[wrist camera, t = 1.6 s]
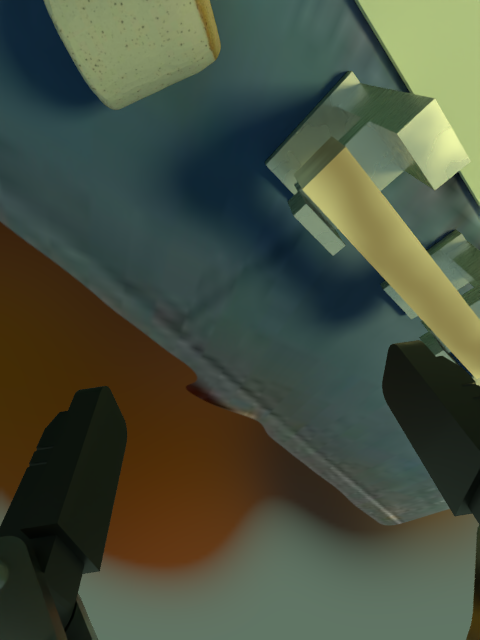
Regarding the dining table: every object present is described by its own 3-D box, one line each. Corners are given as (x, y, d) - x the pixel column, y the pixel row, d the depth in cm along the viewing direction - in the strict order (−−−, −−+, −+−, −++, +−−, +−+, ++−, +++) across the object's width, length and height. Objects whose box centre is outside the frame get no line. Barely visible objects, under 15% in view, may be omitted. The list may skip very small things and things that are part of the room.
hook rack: (348, 70, 25) (424, 80, 15) (480, 266, 35) (574, 342, 26) (264, 162, 28) (284, 215, 19) (407, 314, 39) (466, 396, 30)
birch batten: (331, 135, 20) (345, 146, 18) (489, 337, 31) (511, 361, 28) (293, 174, 21) (302, 189, 19) (458, 355, 32) (476, 379, 30)
